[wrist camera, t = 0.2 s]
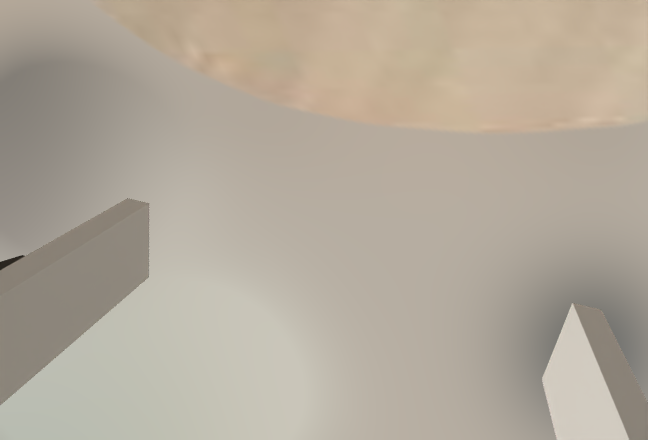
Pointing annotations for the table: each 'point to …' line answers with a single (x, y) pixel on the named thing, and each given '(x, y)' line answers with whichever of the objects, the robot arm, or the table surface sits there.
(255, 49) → the table surface
